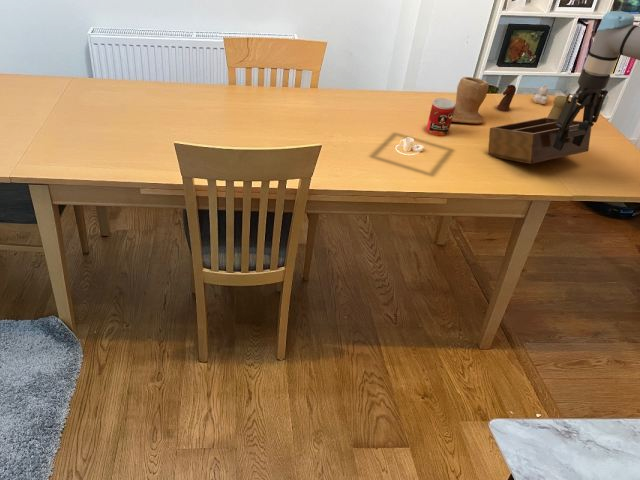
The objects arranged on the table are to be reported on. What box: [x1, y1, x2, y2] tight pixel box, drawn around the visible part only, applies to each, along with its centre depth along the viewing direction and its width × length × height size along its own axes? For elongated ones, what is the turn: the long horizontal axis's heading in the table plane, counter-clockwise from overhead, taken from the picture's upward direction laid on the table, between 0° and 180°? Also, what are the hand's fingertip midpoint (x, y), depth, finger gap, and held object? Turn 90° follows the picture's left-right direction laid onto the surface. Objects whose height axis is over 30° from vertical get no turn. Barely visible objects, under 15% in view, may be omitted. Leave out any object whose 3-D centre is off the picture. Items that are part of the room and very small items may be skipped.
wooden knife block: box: [487, 117, 592, 165], centre depth 187 cm, size 23×24×9 cm
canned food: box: [426, 97, 456, 137], centre depth 203 cm, size 8×8×11 cm
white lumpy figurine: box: [532, 84, 550, 105], centre depth 226 cm, size 5×7×8 cm
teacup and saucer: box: [394, 137, 424, 156], centre depth 194 cm, size 9×8×4 cm
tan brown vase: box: [451, 76, 490, 124], centre depth 210 cm, size 15×12×15 cm
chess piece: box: [496, 84, 517, 113], centre depth 219 cm, size 5×5×10 cm
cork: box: [546, 95, 567, 119], centre depth 210 cm, size 6×6×11 cm
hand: (566, 146), depth 180 cm, fingers closed on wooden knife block, 7 cm apart
